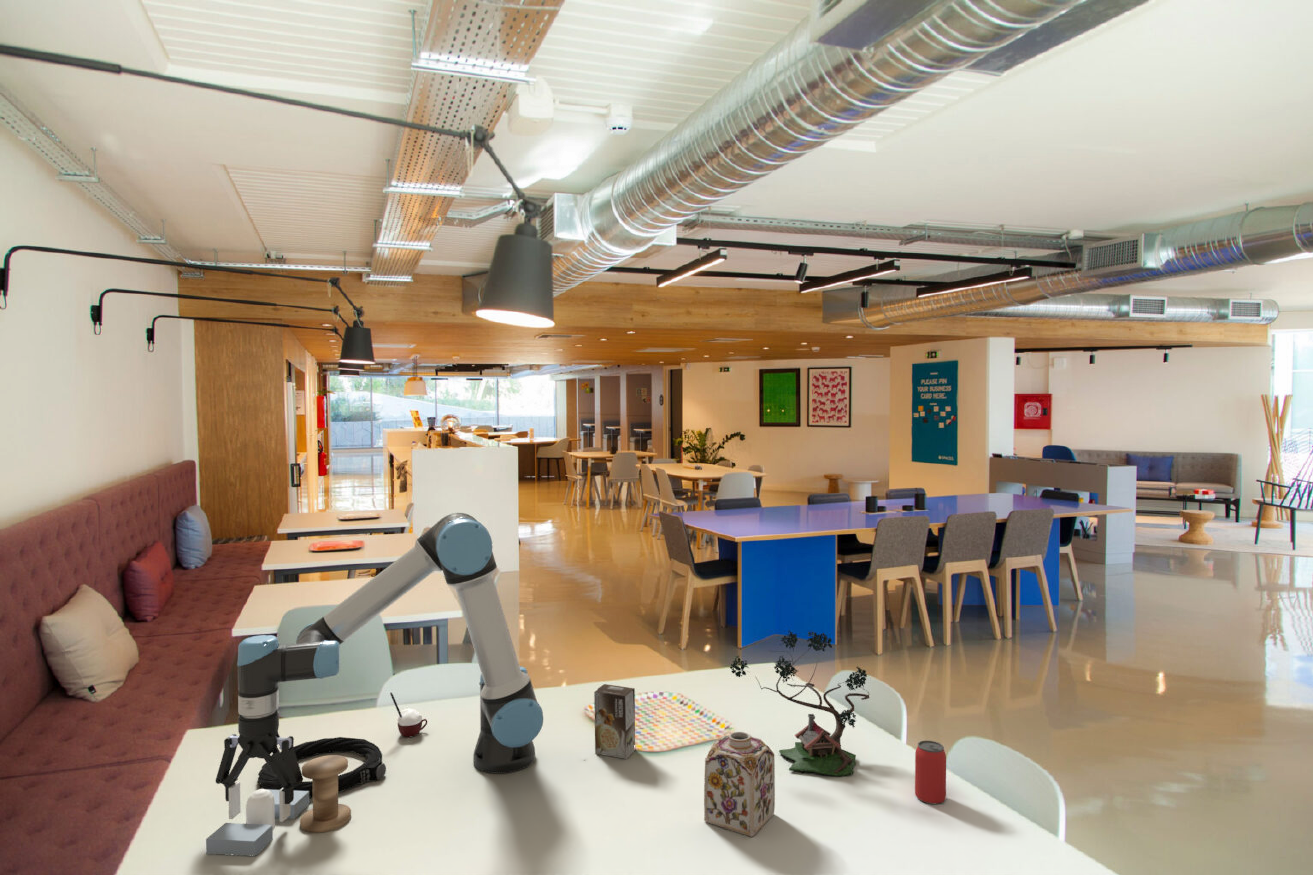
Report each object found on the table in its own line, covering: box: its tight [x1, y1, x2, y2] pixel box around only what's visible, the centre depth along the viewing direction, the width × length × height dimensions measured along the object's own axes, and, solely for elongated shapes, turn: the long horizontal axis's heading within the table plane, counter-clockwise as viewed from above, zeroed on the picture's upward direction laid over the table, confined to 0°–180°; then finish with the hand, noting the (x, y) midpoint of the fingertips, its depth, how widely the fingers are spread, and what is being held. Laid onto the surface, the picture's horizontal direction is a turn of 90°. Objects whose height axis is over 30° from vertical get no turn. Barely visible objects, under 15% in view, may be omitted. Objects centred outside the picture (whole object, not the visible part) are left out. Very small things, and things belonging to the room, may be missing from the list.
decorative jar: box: [703, 731, 776, 838], centre depth 164 cm, size 12×12×18 cm
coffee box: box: [593, 683, 636, 759], centre depth 196 cm, size 9×6×16 cm
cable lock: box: [257, 736, 387, 798], centre depth 185 cm, size 28×4×30 cm
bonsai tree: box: [729, 630, 870, 777], centre depth 193 cm, size 35×24×32 cm
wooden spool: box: [299, 754, 352, 834], centre depth 163 cm, size 10×10×12 cm
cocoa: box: [389, 692, 428, 738], centre depth 207 cm, size 10×6×12 cm, turn 97°
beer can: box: [914, 740, 947, 805], centre depth 172 cm, size 7×7×12 cm
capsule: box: [245, 788, 276, 829], centre depth 160 cm, size 5×5×8 cm
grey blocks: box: [205, 789, 310, 857], centre depth 160 cm, size 10×20×3 cm, turn 175°
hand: (259, 816), depth 160 cm, fingers open, 10 cm apart
